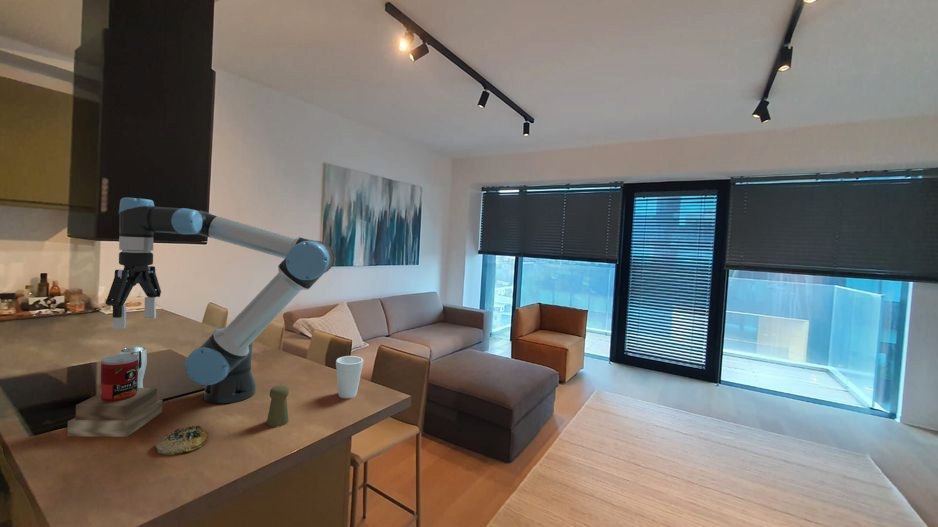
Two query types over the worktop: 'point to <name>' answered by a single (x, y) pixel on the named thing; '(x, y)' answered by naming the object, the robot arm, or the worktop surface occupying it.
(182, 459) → the worktop surface
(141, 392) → the stack of wooden planks
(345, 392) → the foam cup
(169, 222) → the robot arm
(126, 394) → the canned food
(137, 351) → the beer glass
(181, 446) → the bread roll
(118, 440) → the worktop surface
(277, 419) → the green pawn
